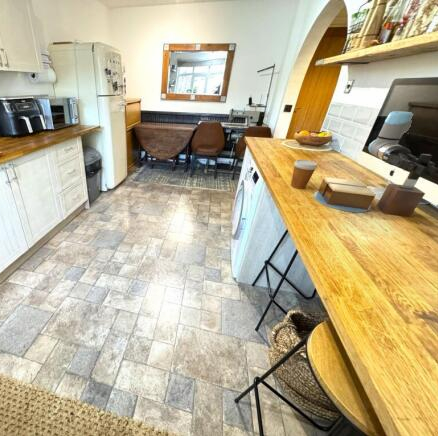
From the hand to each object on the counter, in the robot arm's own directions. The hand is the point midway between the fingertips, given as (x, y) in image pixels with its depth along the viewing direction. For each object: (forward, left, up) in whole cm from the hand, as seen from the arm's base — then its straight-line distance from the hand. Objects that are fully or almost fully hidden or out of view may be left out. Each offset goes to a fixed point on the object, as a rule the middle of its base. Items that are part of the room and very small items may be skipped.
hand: (429, 171), depth 82 cm
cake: (+15, +12, -18) cm, 26 cm away
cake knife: (+5, -2, -17) cm, 17 cm away
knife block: (+5, -2, -18) cm, 19 cm away
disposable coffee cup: (+32, +20, -19) cm, 42 cm away
